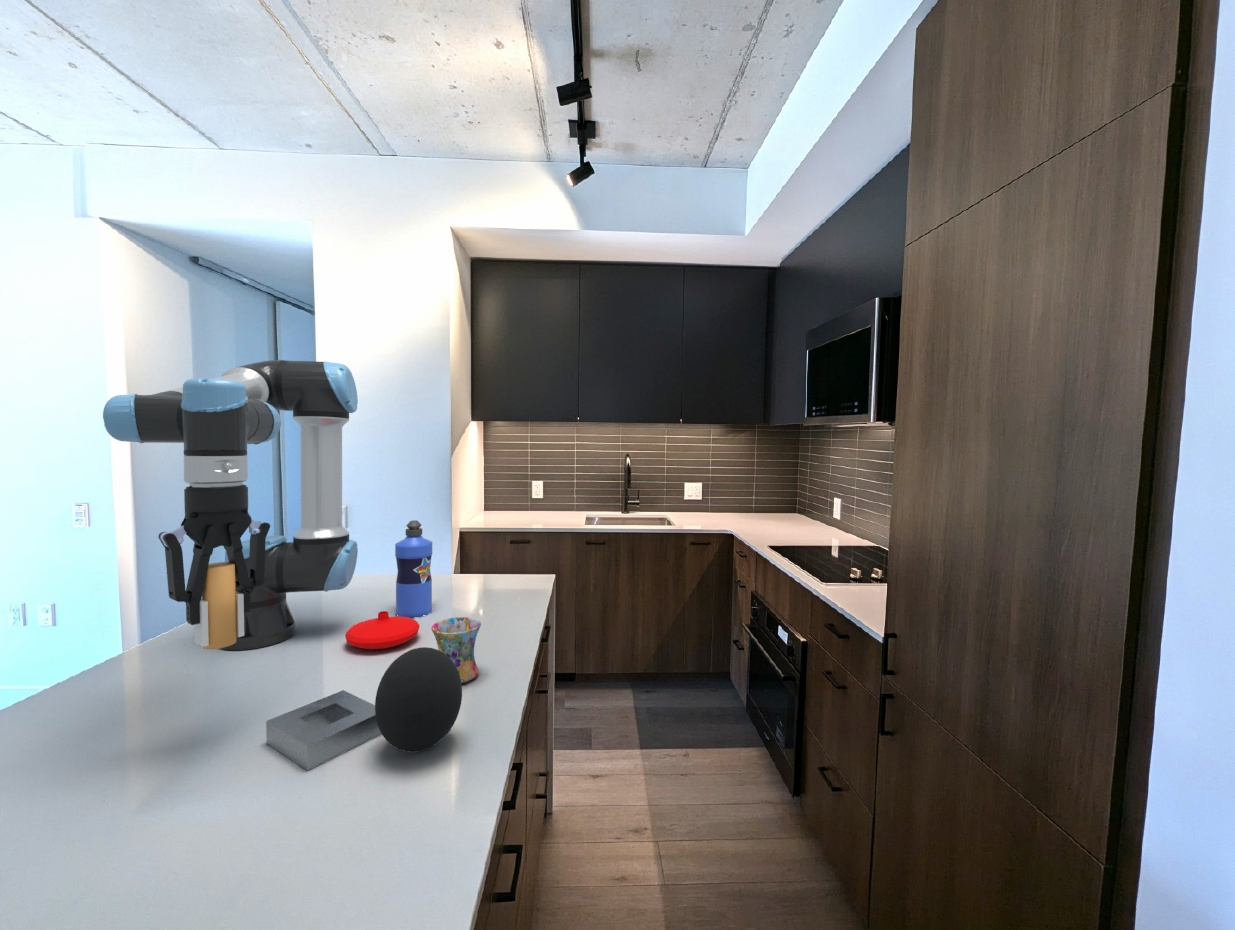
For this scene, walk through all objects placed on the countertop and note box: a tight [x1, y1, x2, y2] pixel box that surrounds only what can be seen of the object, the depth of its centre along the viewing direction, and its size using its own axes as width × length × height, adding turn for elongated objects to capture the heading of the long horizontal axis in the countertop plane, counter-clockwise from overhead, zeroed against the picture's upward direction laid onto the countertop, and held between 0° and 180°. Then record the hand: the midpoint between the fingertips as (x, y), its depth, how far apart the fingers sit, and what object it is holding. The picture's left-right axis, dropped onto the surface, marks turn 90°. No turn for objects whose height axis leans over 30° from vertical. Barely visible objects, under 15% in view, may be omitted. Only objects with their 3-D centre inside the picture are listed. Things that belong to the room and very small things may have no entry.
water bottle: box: [394, 519, 433, 619], centre depth 140 cm, size 9×9×25 cm
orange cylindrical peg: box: [201, 561, 236, 650], centre depth 78 cm, size 4×4×12 cm
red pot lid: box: [344, 610, 421, 650], centre depth 120 cm, size 16×16×7 cm
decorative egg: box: [374, 647, 463, 753], centre depth 79 cm, size 12×12×15 cm
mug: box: [430, 616, 482, 684], centre depth 104 cm, size 12×9×11 cm
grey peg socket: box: [265, 689, 382, 771], centre depth 81 cm, size 12×12×4 cm
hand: (220, 638), depth 78 cm, fingers closed on orange cylindrical peg, 4 cm apart
